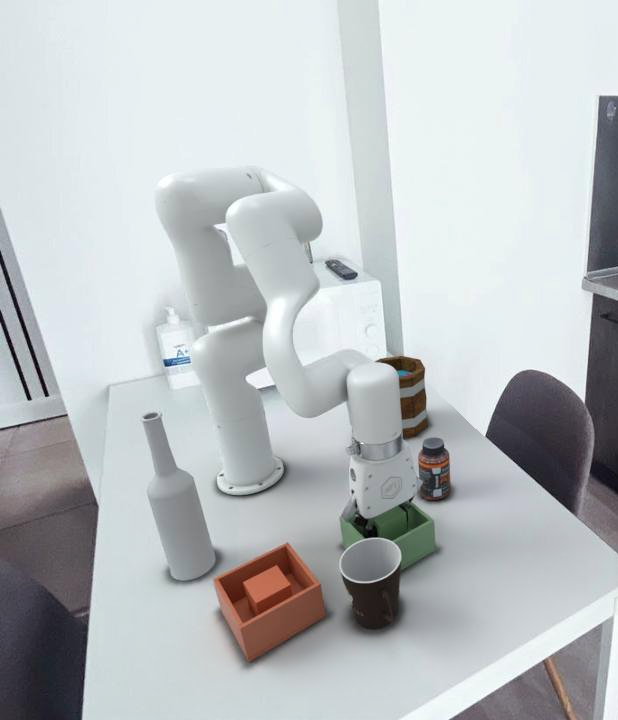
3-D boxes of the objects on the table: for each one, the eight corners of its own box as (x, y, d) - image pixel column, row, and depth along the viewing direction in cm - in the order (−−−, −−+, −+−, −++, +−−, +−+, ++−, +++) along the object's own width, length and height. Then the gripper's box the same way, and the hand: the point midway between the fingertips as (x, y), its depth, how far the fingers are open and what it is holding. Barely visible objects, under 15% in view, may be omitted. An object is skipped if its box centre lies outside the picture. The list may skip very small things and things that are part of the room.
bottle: (217, 546, 93) (179, 401, 81) (214, 574, 87) (173, 422, 76) (173, 556, 91) (128, 408, 79) (168, 585, 85) (118, 431, 74)
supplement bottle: (446, 503, 103) (444, 452, 98) (416, 499, 104) (412, 449, 99) (454, 484, 108) (452, 435, 103) (425, 481, 109) (422, 432, 104)
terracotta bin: (221, 610, 80) (212, 578, 78) (293, 572, 87) (287, 541, 85) (248, 662, 73) (240, 628, 70) (326, 616, 79) (320, 583, 77)
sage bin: (343, 546, 92) (339, 516, 90) (398, 517, 99) (396, 488, 97) (378, 584, 85) (374, 553, 82) (435, 550, 91) (434, 520, 89)
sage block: (366, 534, 91) (363, 510, 89) (391, 521, 94) (389, 498, 92) (382, 551, 88) (379, 526, 86) (408, 536, 91) (406, 512, 89)
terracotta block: (249, 607, 80) (242, 582, 78) (282, 589, 83) (276, 564, 81) (262, 629, 77) (255, 603, 75) (296, 609, 80) (290, 584, 78)
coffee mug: (350, 590, 84) (343, 539, 80) (406, 586, 84) (402, 535, 80) (339, 658, 73) (330, 603, 69) (403, 653, 74) (398, 598, 70)
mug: (408, 405, 138) (404, 351, 132) (440, 426, 128) (437, 368, 122) (337, 432, 126) (329, 374, 120) (366, 457, 117) (360, 395, 111)
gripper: (339, 474, 76) (352, 573, 83) (437, 432, 86) (441, 523, 93) (315, 452, 81) (329, 546, 88) (410, 414, 91) (415, 501, 99)
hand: (386, 533), depth 91 cm, fingers closed on sage block, 5 cm apart
